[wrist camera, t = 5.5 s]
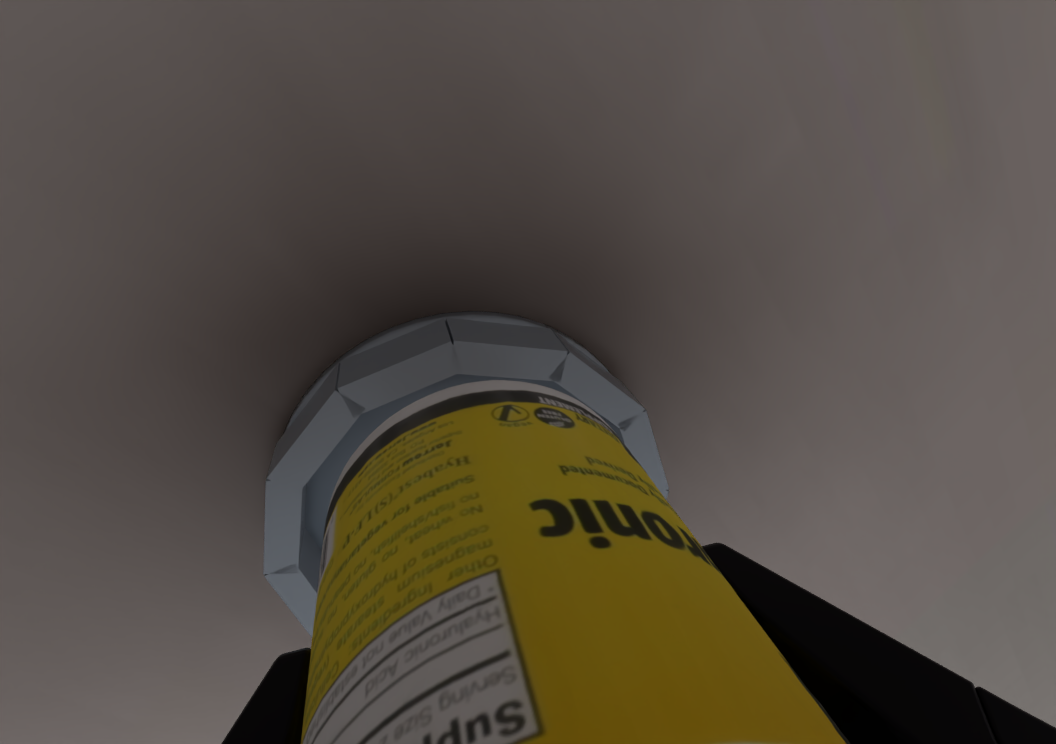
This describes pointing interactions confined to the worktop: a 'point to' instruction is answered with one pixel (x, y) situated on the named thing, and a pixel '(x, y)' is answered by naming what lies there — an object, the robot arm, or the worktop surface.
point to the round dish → (397, 381)
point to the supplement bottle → (529, 593)
